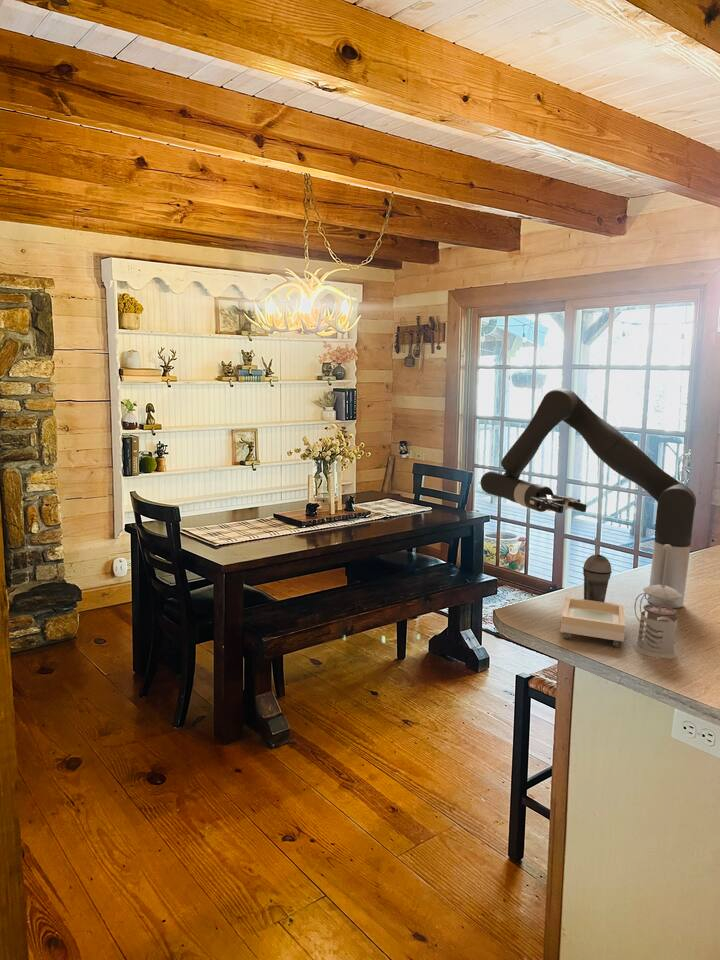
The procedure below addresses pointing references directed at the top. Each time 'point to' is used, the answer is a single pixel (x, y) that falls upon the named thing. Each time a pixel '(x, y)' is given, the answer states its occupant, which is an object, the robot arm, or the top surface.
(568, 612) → the caster cart
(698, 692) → the top surface
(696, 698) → the top surface
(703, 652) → the top surface
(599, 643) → the top surface
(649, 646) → the french press
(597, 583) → the beverage cup
